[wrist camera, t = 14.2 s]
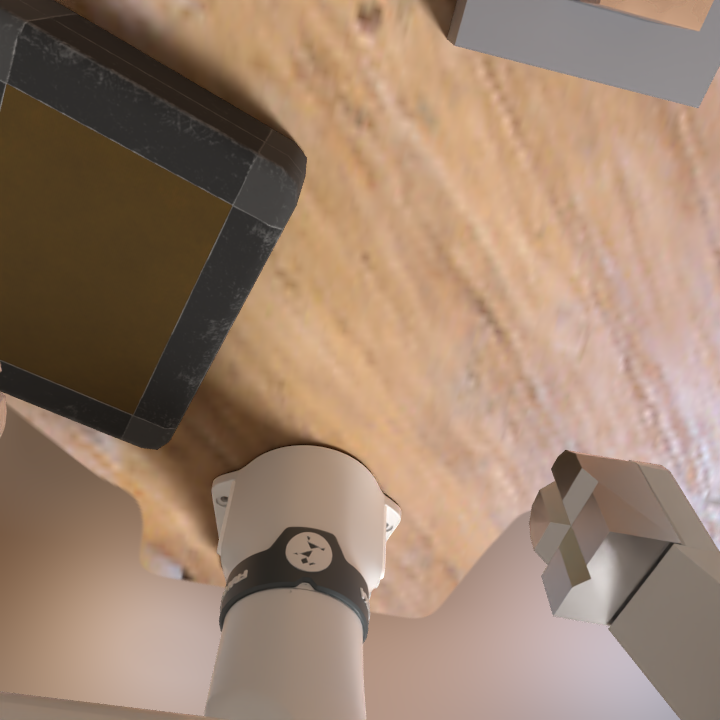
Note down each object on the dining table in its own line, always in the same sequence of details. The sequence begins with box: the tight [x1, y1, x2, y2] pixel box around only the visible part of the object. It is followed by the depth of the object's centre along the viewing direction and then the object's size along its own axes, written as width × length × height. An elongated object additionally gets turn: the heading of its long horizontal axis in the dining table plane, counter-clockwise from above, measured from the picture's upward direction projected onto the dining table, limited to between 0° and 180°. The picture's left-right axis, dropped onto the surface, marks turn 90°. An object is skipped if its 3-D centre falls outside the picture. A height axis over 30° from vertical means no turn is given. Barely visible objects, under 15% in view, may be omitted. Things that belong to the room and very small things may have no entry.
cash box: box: [0, 0, 307, 450], centre depth 41 cm, size 25×20×8 cm
